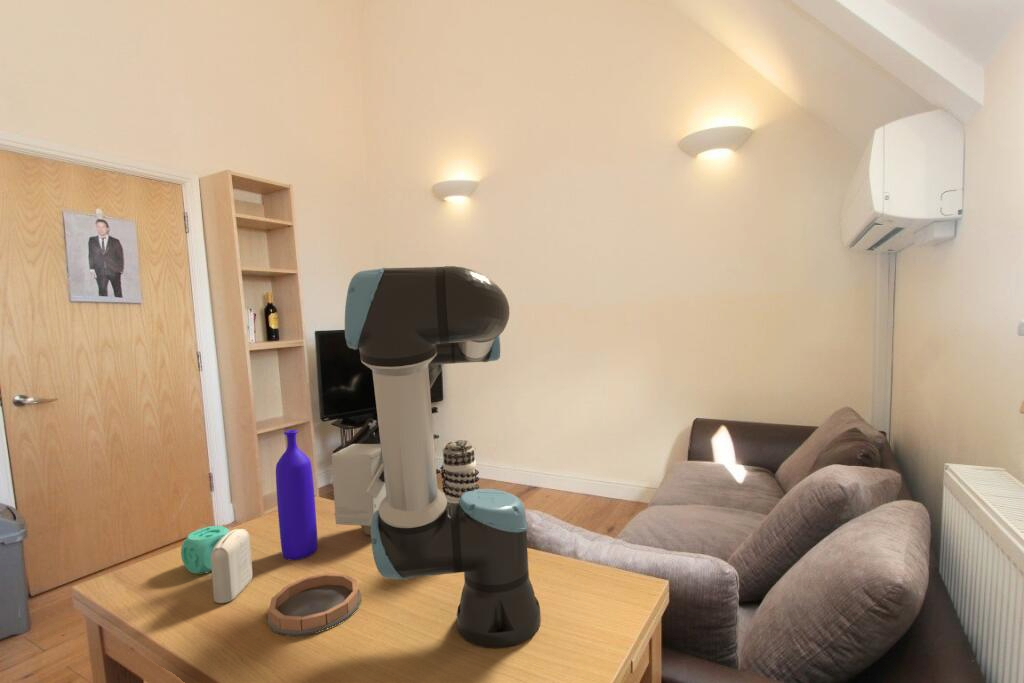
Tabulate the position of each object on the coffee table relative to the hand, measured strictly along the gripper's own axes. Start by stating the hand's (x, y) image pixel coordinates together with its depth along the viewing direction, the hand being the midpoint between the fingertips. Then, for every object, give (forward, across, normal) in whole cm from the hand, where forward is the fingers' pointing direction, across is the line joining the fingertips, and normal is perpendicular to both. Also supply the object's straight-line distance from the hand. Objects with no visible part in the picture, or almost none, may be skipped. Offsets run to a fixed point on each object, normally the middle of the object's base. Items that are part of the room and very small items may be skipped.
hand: (352, 490), depth 107 cm
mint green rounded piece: (+24, +38, -6) cm, 45 cm away
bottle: (+13, +25, -16) cm, 32 cm away
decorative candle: (-4, -7, -33) cm, 34 cm away
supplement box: (+3, 0, -7) cm, 8 cm away
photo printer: (+25, +22, -4) cm, 33 cm away
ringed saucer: (+22, 0, -7) cm, 23 cm away
